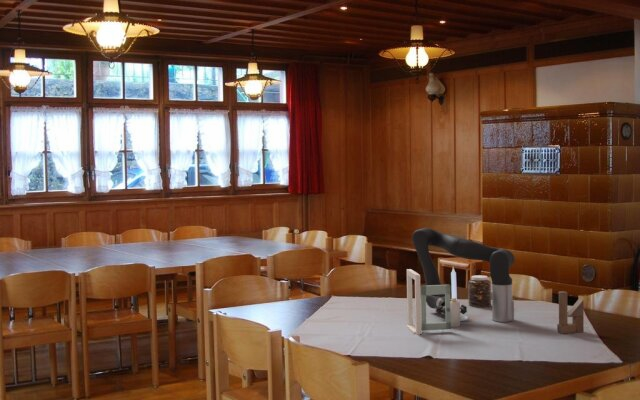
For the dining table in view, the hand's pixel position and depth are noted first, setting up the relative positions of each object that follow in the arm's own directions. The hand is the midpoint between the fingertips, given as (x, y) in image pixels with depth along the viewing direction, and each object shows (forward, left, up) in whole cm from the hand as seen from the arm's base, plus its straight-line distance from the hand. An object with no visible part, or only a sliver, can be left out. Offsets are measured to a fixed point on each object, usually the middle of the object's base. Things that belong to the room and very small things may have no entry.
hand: (455, 312), depth 357 cm
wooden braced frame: (-45, +22, -7) cm, 51 cm away
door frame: (+20, +3, -6) cm, 21 cm away
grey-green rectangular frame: (+12, +10, -5) cm, 16 cm away
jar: (-26, -45, -7) cm, 52 cm away
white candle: (0, -2, -6) cm, 7 cm away
